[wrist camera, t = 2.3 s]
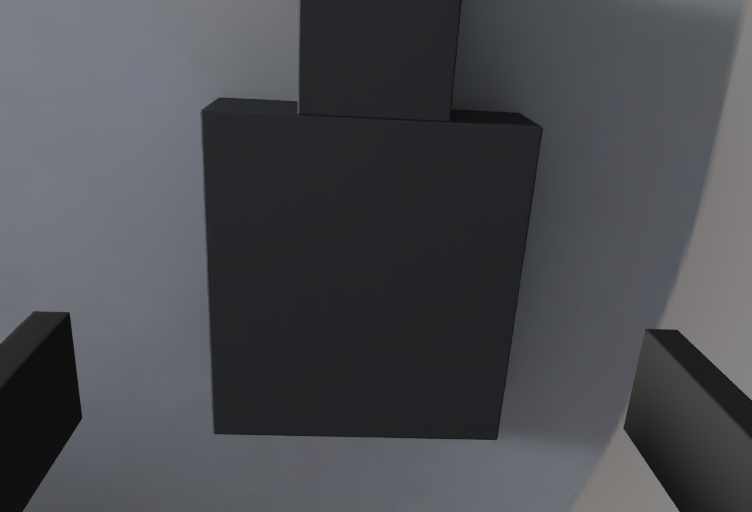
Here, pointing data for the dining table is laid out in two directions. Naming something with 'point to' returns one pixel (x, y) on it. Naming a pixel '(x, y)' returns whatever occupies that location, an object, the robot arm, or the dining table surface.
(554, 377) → the dining table surface
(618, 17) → the dining table surface
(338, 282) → the pad
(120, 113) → the dining table surface
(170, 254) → the dining table surface
